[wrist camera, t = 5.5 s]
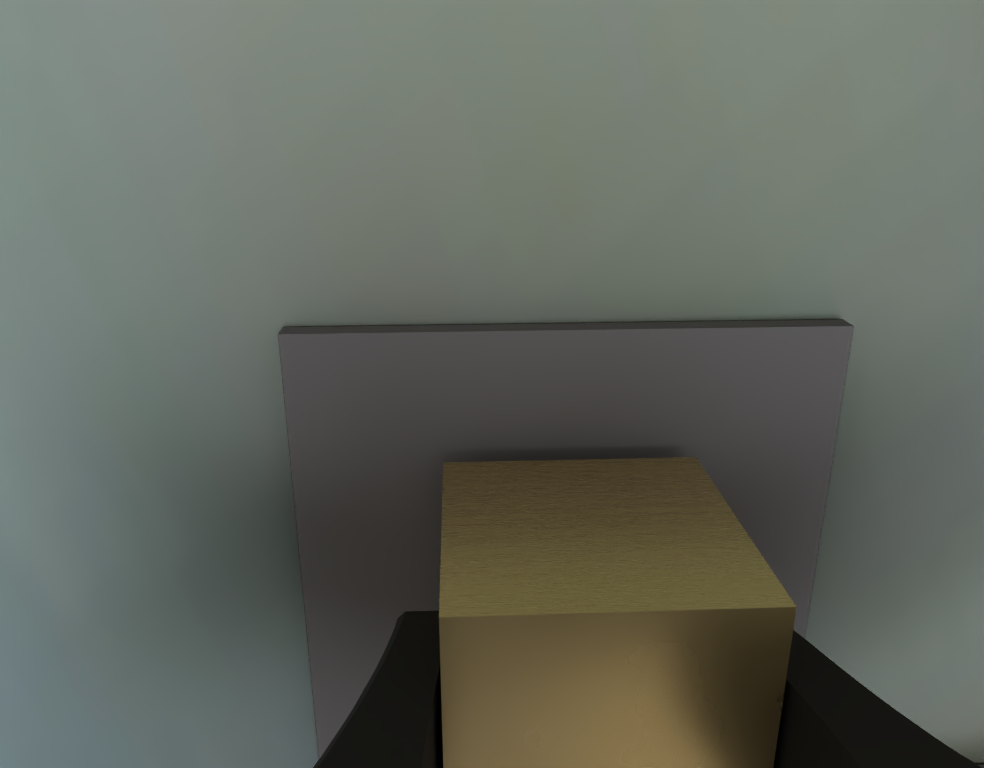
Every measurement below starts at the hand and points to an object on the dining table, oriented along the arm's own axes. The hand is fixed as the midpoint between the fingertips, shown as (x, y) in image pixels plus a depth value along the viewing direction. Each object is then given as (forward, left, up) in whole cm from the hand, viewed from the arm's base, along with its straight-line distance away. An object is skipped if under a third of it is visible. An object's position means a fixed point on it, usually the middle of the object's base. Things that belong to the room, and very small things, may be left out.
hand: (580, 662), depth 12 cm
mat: (0, 0, -3) cm, 3 cm away
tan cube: (0, 0, -2) cm, 2 cm away
